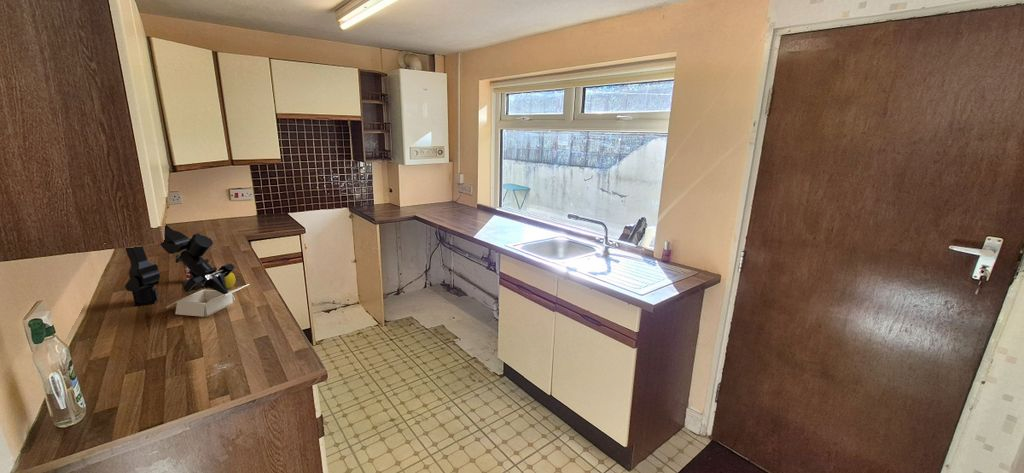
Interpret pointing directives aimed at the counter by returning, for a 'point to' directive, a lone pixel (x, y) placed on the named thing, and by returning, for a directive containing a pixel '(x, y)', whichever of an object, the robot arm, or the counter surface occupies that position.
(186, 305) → the carton
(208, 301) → the carton flap
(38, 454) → the counter surface
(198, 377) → the counter surface
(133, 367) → the counter surface
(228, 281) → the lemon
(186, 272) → the soda can
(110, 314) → the counter surface
